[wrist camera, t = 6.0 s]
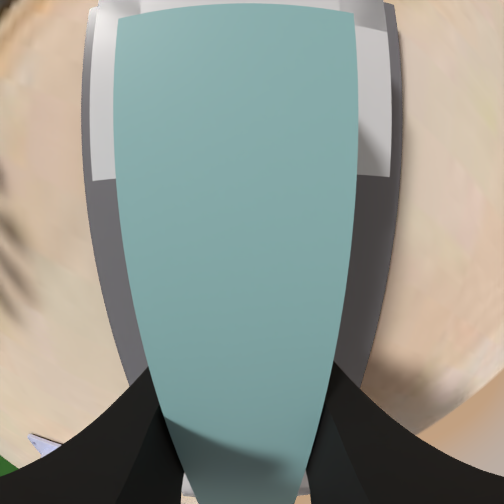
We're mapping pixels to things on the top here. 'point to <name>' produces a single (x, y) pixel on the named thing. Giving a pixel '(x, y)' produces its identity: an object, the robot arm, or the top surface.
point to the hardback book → (6, 467)
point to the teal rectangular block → (238, 228)
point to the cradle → (367, 184)
